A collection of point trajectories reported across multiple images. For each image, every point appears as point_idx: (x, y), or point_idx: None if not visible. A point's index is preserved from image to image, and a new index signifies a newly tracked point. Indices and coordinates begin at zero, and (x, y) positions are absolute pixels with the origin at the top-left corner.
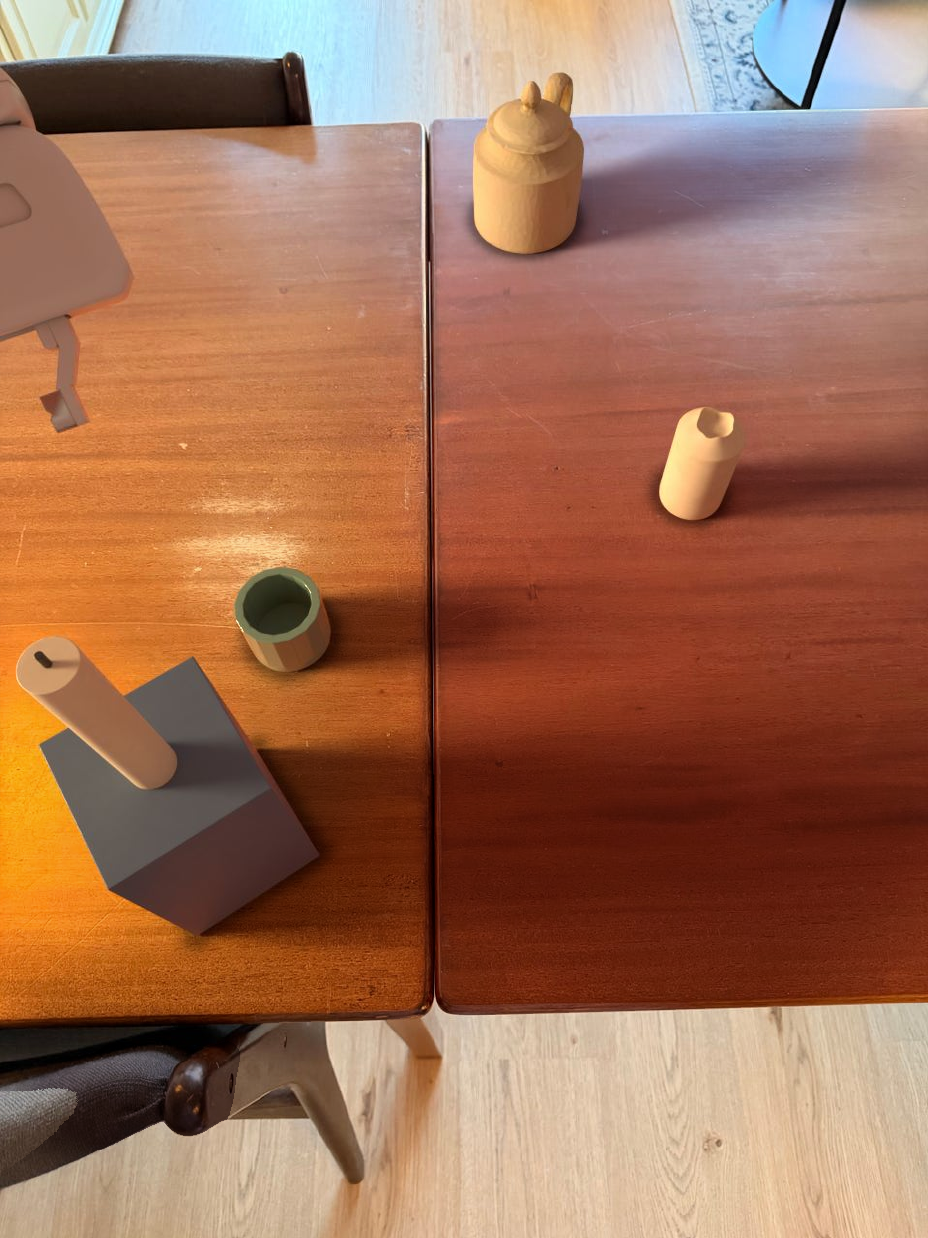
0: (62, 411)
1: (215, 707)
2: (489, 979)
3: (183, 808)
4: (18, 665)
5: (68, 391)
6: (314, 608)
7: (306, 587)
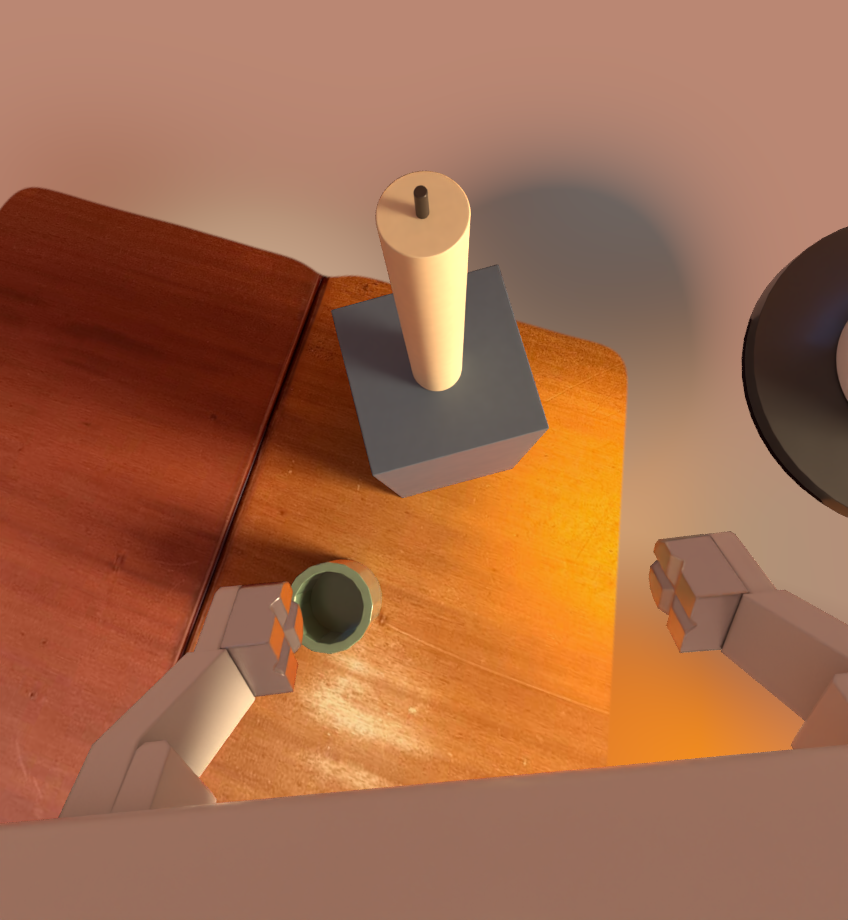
0: (247, 607)
1: (362, 408)
2: (283, 269)
3: None
4: (465, 225)
5: (204, 639)
6: (294, 588)
7: None
